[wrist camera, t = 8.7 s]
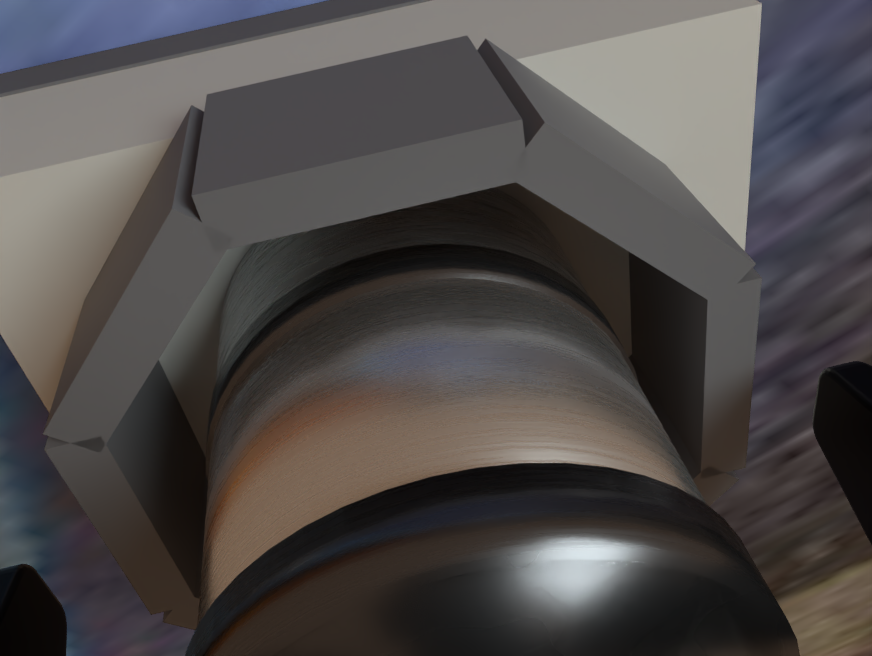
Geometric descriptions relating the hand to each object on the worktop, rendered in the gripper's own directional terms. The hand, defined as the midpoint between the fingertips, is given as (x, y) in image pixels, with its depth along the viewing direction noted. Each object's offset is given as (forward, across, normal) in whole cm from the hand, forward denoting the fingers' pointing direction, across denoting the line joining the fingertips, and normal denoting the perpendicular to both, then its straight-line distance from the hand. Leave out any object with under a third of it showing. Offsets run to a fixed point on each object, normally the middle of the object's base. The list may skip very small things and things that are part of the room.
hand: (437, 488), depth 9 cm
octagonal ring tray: (+7, 0, 0) cm, 7 cm away
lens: (+3, 0, 0) cm, 3 cm away
